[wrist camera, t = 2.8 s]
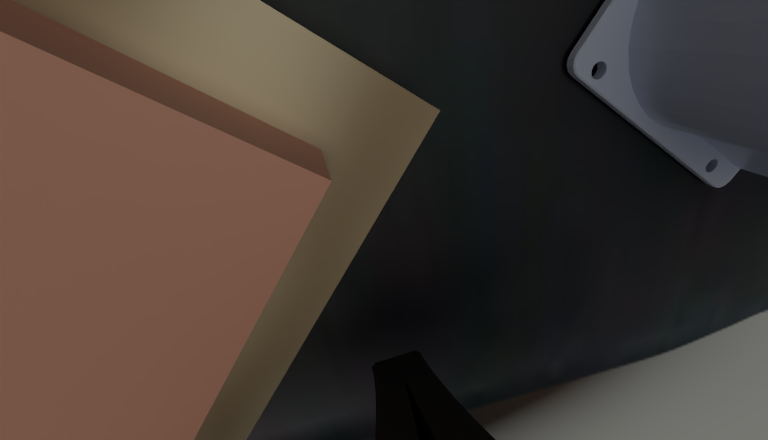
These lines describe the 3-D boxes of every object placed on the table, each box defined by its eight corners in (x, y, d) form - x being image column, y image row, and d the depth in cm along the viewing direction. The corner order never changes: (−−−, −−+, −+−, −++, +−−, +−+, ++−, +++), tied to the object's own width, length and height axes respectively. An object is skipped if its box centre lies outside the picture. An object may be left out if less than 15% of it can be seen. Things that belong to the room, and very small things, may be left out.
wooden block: (403, 91, 11) (440, 110, 9) (223, 417, 15) (212, 497, 13) (-377, -383, 6) (-923, -723, 3) (-347, 329, 10) (-580, 442, 7)
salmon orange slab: (321, 149, 9) (332, 180, 7) (167, 449, 11) (147, 526, 10) (-211, -107, 5) (-448, -172, 4) (-243, 403, 8) (-387, 506, 6)
